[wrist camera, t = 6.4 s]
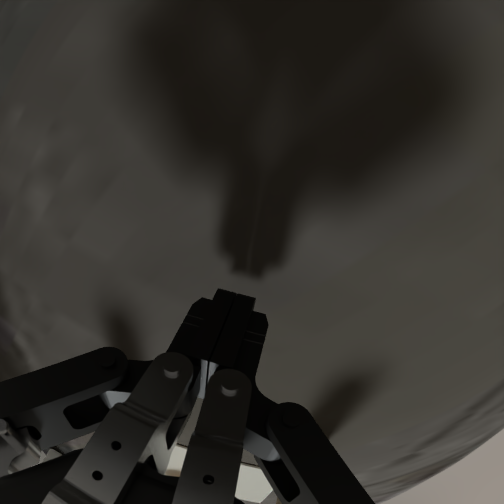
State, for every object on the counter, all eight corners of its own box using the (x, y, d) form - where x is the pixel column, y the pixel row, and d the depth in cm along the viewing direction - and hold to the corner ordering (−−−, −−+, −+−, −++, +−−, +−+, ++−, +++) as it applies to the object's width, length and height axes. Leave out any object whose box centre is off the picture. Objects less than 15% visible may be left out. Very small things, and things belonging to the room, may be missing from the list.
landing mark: (141, 430, 25) (140, 432, 25) (288, 472, 24) (287, 474, 23) (155, 472, 32) (154, 473, 32) (260, 501, 31) (260, 503, 31)
